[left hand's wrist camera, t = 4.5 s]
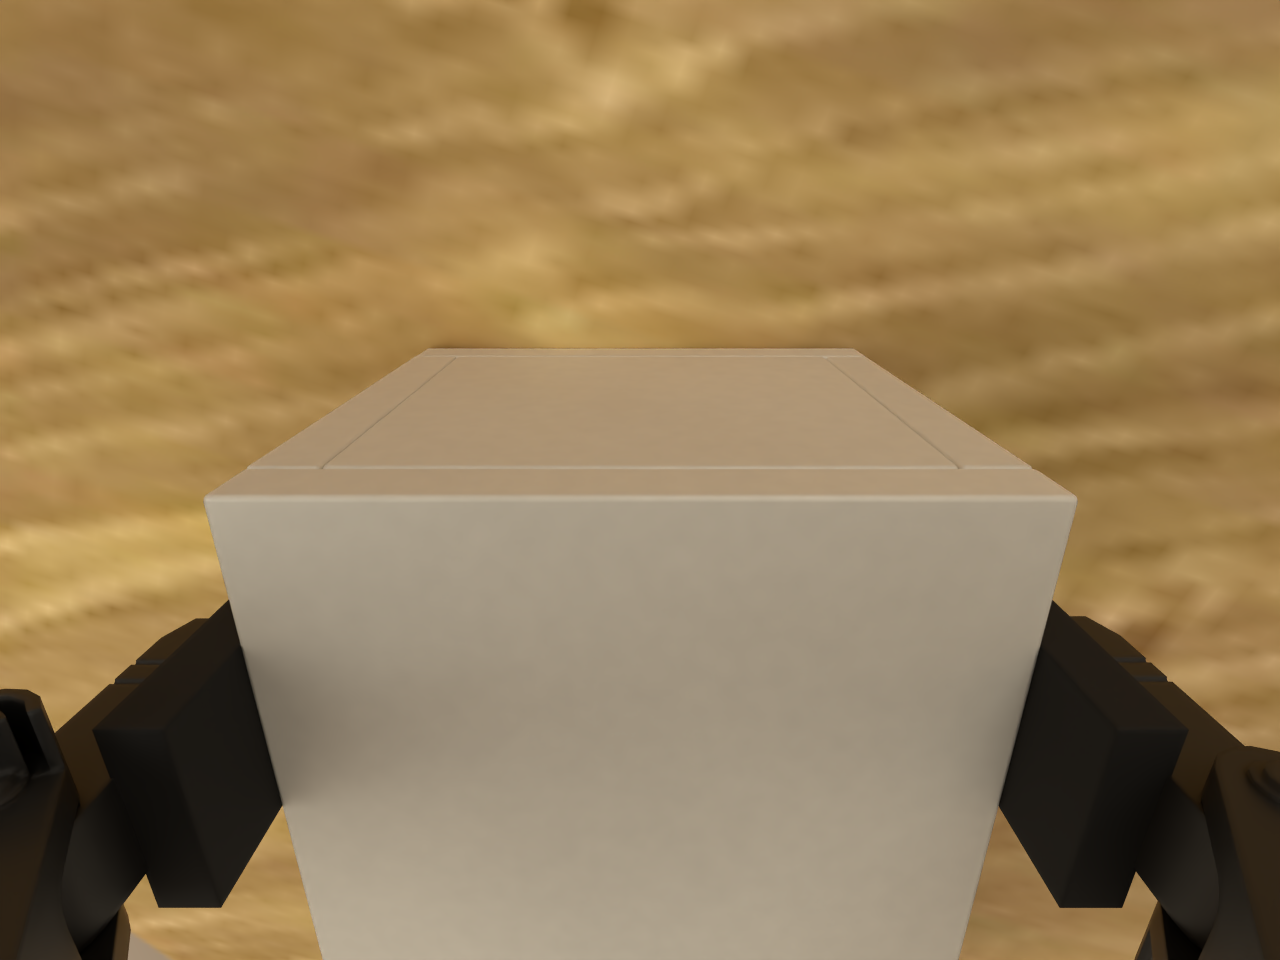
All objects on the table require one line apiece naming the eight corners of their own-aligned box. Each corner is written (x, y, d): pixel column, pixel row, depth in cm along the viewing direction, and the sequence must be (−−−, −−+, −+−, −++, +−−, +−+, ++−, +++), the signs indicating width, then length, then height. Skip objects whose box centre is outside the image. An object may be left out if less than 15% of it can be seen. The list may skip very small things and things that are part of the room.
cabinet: (788, 917, 23) (869, 1308, 15) (493, 917, 23) (411, 1307, 15) (854, 347, 16) (1082, 496, 8) (426, 347, 16) (198, 495, 8)
